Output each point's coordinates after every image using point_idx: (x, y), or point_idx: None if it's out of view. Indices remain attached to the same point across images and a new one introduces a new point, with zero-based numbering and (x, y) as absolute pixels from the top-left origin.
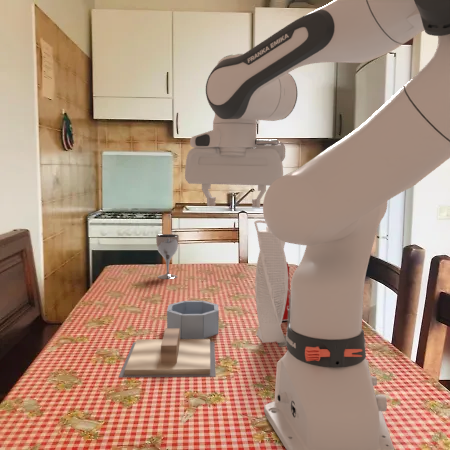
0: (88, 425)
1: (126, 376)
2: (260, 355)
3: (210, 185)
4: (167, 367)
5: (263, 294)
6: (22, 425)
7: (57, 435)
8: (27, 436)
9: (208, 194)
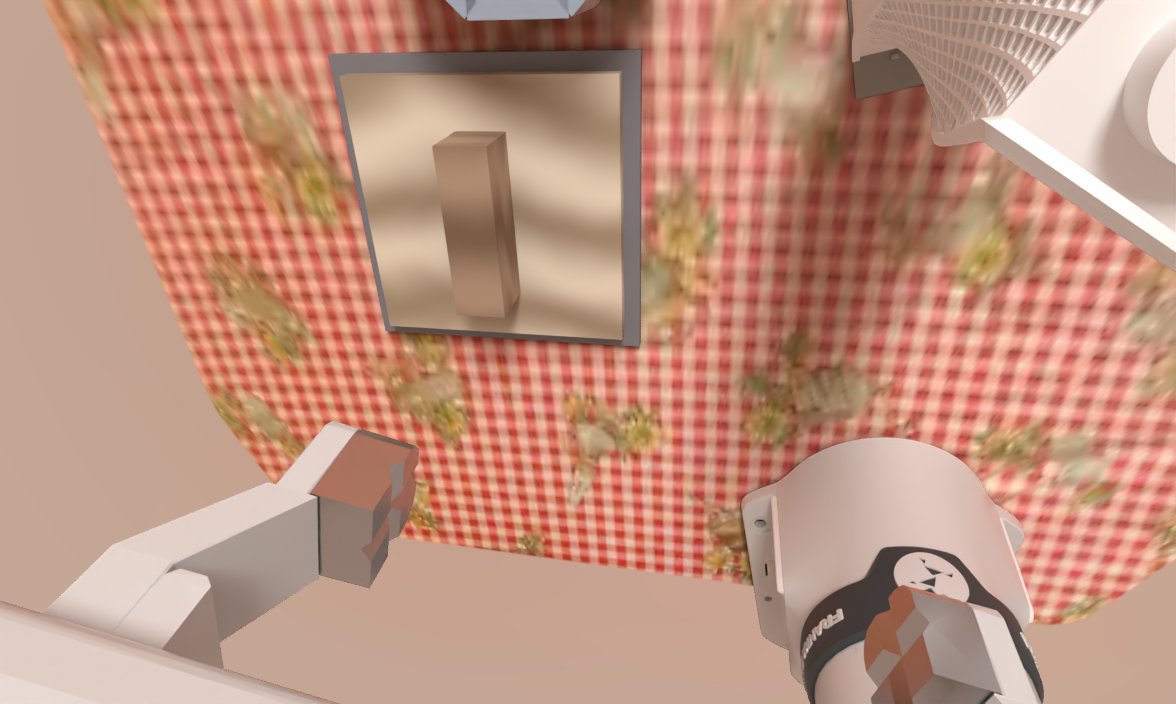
0: None
1: (404, 328)
2: (812, 176)
3: (175, 635)
4: (500, 320)
5: (907, 54)
6: None
7: None
8: None
9: (274, 598)
